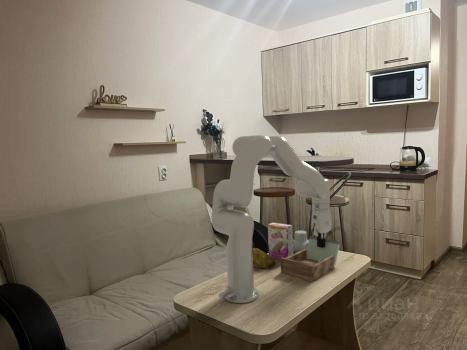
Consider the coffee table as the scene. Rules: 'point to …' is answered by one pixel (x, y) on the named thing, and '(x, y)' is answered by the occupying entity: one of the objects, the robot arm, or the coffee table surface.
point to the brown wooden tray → (306, 266)
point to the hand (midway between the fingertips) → (321, 246)
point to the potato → (262, 259)
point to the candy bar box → (280, 240)
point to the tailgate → (322, 249)
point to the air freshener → (300, 241)
